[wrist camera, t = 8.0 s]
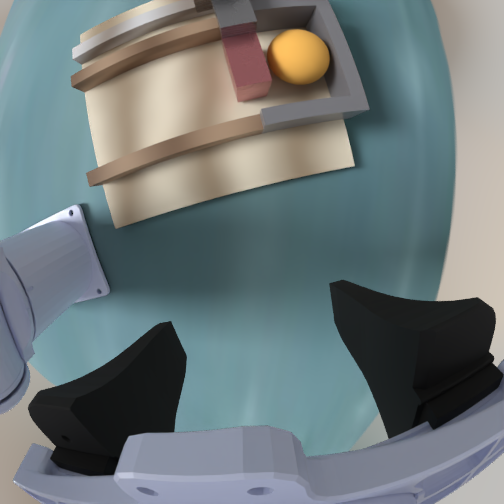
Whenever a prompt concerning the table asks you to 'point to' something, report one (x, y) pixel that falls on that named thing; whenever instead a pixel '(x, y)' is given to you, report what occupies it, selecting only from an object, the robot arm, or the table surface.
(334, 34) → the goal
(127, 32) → the beige grooved board
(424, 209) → the table surface
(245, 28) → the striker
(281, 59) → the ball
